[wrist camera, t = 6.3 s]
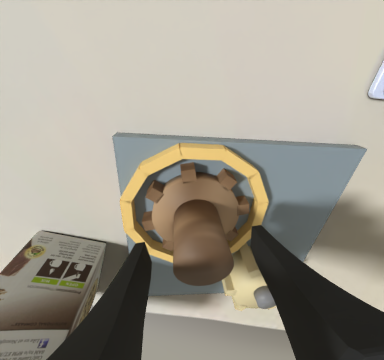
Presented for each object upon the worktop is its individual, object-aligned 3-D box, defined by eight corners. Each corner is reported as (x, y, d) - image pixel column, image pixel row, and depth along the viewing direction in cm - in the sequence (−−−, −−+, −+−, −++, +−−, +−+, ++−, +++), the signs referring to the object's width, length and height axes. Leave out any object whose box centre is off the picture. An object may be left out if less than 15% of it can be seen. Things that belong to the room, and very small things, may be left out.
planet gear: (244, 153, 13) (283, 196, 8) (244, 235, 17) (270, 295, 13) (129, 172, 13) (102, 226, 8) (157, 249, 18) (150, 315, 13)
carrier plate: (355, 145, 15) (431, 172, 10) (282, 282, 24) (306, 327, 20) (116, 132, 13) (86, 159, 8) (136, 287, 22) (126, 339, 18)
